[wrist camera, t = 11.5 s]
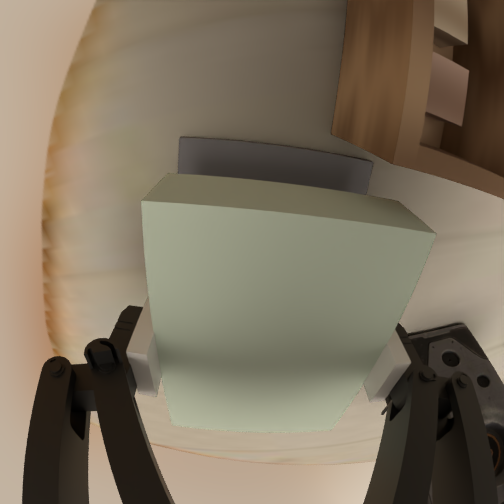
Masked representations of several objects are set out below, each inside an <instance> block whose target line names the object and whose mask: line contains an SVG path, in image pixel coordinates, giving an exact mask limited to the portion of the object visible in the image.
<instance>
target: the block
mask: <svg viewBox="0 0 504 504" xmlns="http://www.w3.org/2000/svg"><path fill="white" fill-rule="evenodd" d="M141 207H142V228H143V243H144V256H145V268H146V278H147V287H148V296H149V304H150V312H151V319H152V326H153V331H154V334H155V341H156V347H157V353H158V359H159V364H160V370H161V375H162V376H161V378H162V383H163V388H164V393H165V397H166V402H167V406H168V411H169V415H170V419H171V423H172V425H174V426H181V427H189V428H197V429H207V430H218V431H233V432H257V433H290V432H314V431H328V430H332V429H333V428H334V426H335V425H336V424H337V422H338V421H339V419H340V418H341V417H342V415H343V414H344V412H345V411H346V409H347V408H348V407H349V405H350V404H351V402H352V401H353V399H354V398H355V396H356V395H357V393H358V392H359V390H360V388H361V387H362V385H363V384H364V381H365V380H366V378H367V377H368V375H369V373H370V372H371V370H372V368H373V367H374V365H375V363H376V362H377V360H378V358H379V356H380V355H381V353H382V351H383V349H384V347H385V346H386V344H387V343H388V341H389V339H390V337H391V336H392V334H393V332H394V330H395V328H396V326H397V324H398V322H399V320H400V318H401V316H402V314H403V312H404V310H405V308H406V306H407V304H408V302H409V300H410V297H411V295H412V293H413V291H414V289H415V286H416V284H417V282H418V280H419V277H420V275H421V273H422V270H423V268H424V265H425V263H426V260H427V258H428V255H429V253H430V250H431V247H432V245H433V242H434V239H435V237H436V233H435V232H434V231H433V230H432V229H431V228H429V227H428V226H427V225H426V224H425V223H424V222H423V221H421V220H420V219H419V218H418V217H417V216H416V215H414V214H413V213H412V212H411V211H410V210H409V209H407V208H406V207H405V206H404V205H402V204H401V203H400V202H399V201H395V200H390V199H385V198H379V197H374V196H368V195H362V194H357V193H351V192H344V191H338V190H331V189H325V188H318V187H311V186H303V185H296V184H288V183H279V182H271V181H262V180H252V179H242V178H231V177H219V176H206V175H191V174H174V173H168V174H167V175H166V176H165V177H164V178H163V179H162V180H161V181H160V182H159V183H158V184H157V185H156V186H155V187H154V188H153V189H152V190H151V191H150V192H149V193H148V194H147V195H146V196H145V197H144V199H143V200H142V201H141Z"/></svg>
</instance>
